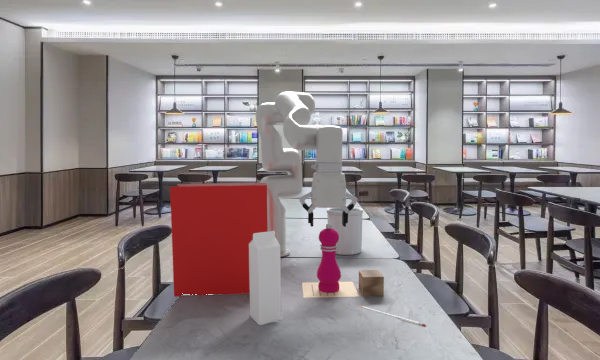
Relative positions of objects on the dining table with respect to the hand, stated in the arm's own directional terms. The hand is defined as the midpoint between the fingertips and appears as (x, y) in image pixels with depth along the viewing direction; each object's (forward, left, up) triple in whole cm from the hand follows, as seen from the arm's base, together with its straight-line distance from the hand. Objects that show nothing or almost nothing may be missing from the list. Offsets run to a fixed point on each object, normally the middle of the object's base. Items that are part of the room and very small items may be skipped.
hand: (327, 225), depth 112 cm
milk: (-18, -19, -20) cm, 32 cm away
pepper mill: (0, -1, -20) cm, 19 cm away
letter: (0, -1, -20) cm, 19 cm away
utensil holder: (+11, +42, -20) cm, 48 cm away
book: (-32, +1, -20) cm, 37 cm away
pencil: (+14, -19, -20) cm, 31 cm away
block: (+12, -4, -20) cm, 23 cm away
